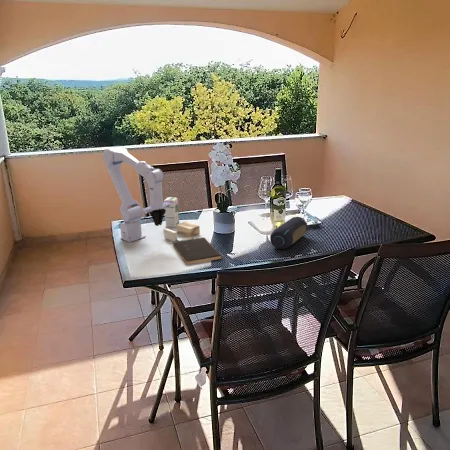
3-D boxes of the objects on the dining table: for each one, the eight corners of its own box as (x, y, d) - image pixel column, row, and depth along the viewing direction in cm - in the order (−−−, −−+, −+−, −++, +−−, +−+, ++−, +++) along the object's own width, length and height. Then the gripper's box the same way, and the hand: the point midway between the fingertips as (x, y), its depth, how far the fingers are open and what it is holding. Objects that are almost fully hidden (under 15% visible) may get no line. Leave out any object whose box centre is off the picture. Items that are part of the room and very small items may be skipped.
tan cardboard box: (177, 244, 200) (177, 235, 199) (162, 238, 208) (161, 229, 206) (201, 235, 211) (201, 226, 209) (186, 229, 218) (185, 221, 217)
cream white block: (178, 243, 201) (177, 234, 199) (164, 237, 207) (163, 229, 206) (184, 241, 203) (183, 232, 201) (170, 235, 210) (169, 227, 208)
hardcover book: (186, 266, 178) (185, 261, 178) (172, 246, 199) (172, 242, 198) (222, 259, 184) (222, 254, 183) (205, 241, 204) (205, 237, 203)
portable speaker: (288, 253, 188) (288, 232, 184) (267, 249, 193) (268, 228, 189) (309, 235, 208) (310, 216, 204) (290, 232, 213) (291, 213, 209)
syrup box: (176, 227, 222) (174, 200, 218) (165, 226, 224) (163, 199, 219) (179, 223, 228) (178, 197, 223) (168, 223, 229) (167, 196, 224)
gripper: (148, 201, 186) (150, 231, 190) (174, 194, 195) (176, 222, 200) (138, 198, 190) (141, 227, 195) (164, 192, 200) (166, 219, 205)
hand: (158, 224), depth 198 cm, fingers closed
